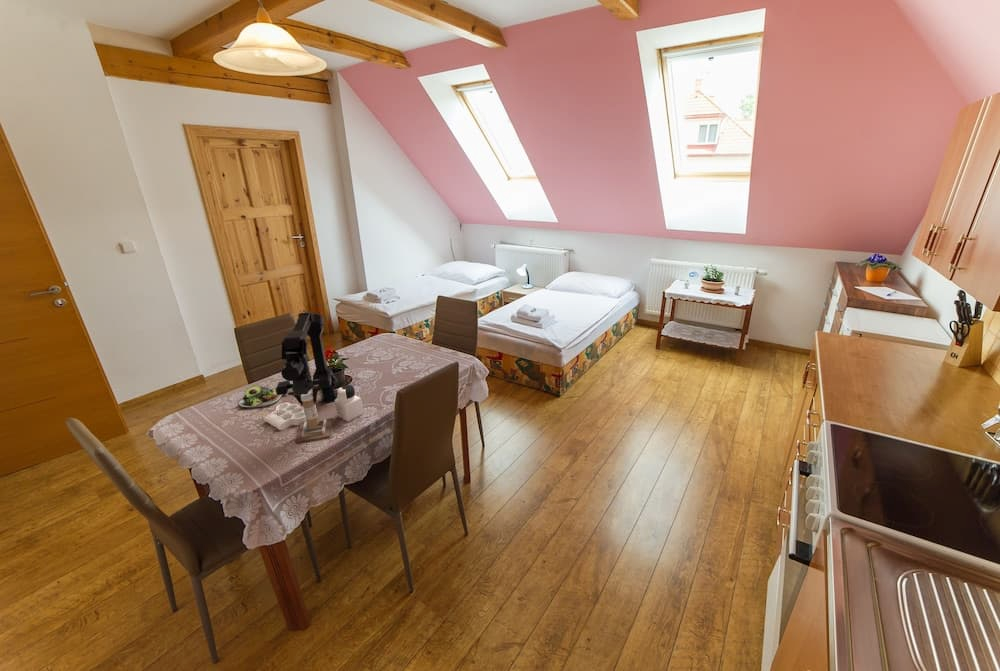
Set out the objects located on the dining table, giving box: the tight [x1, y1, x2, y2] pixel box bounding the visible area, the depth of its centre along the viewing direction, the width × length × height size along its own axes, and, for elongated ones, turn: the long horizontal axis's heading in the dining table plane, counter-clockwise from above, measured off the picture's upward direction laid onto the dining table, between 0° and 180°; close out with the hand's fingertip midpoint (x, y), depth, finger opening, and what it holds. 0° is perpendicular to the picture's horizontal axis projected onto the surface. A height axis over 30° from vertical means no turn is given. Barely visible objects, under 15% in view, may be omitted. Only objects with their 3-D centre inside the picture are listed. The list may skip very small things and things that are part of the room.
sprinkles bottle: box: [300, 391, 320, 427], centre depth 163 cm, size 5×5×13 cm
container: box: [334, 384, 364, 422], centre depth 174 cm, size 8×8×13 cm
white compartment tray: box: [263, 402, 307, 431], centre depth 175 cm, size 3×18×15 cm
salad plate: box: [238, 385, 288, 410], centre depth 191 cm, size 19×18×5 cm
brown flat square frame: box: [295, 417, 334, 444], centre depth 166 cm, size 13×12×2 cm
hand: (308, 404), depth 162 cm, fingers closed on sprinkles bottle, 4 cm apart
